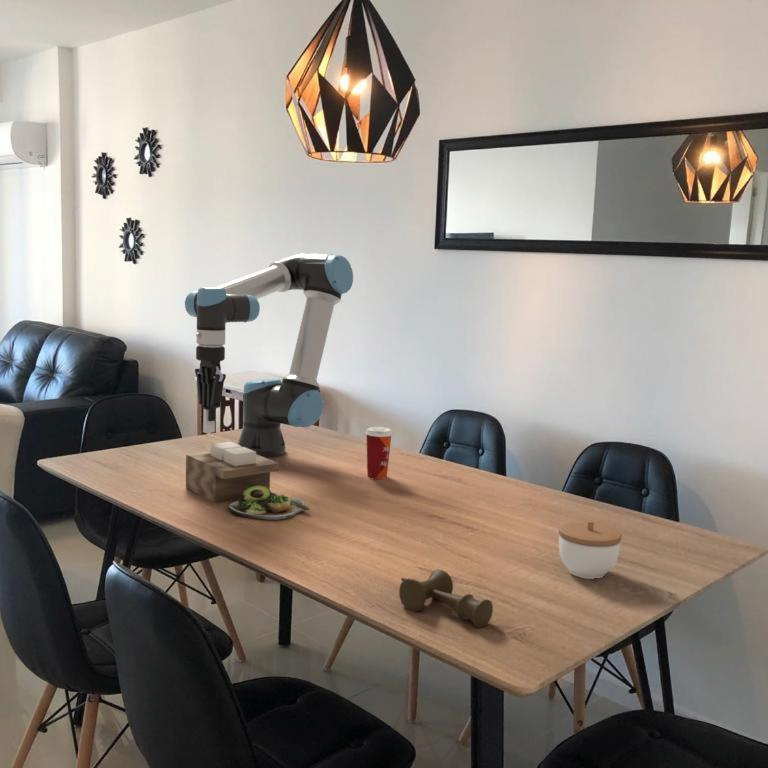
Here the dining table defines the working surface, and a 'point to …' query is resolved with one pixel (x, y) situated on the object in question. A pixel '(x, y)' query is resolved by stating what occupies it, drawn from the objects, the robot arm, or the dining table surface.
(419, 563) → the dining table surface
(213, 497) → the block
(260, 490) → the salad plate
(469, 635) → the dining table surface
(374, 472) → the paper cup
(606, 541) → the lidded bowl
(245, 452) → the tile
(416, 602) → the kendama
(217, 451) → the tile
